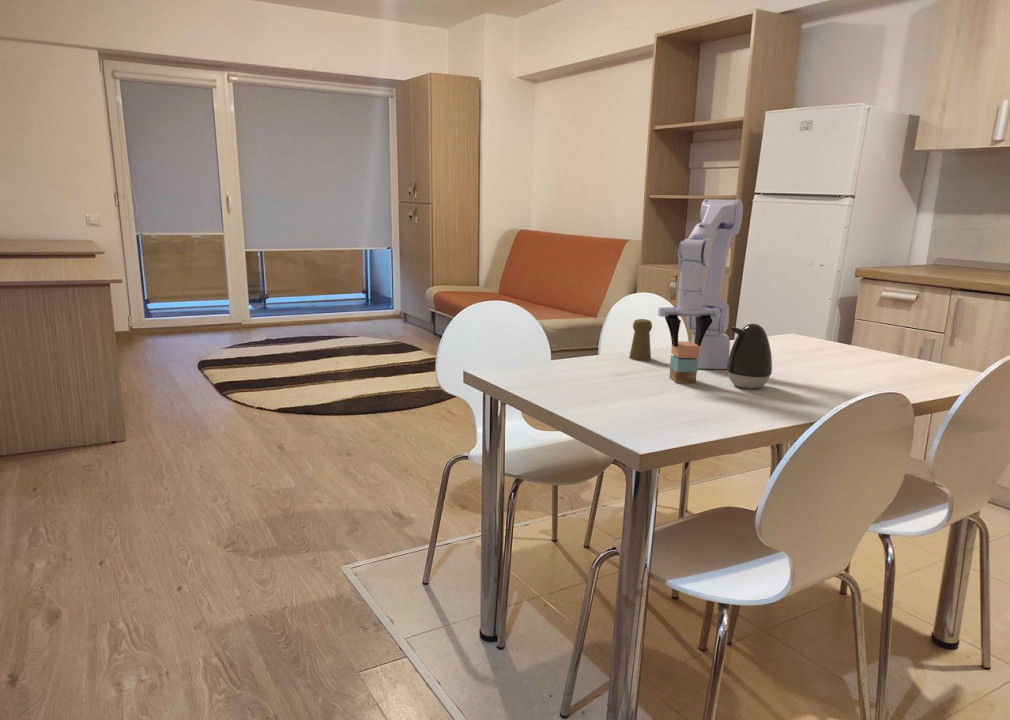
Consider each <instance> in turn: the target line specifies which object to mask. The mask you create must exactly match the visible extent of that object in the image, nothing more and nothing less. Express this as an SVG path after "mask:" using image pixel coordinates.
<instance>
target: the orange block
mask: <svg viewBox="0 0 1010 720" xmlns="http://www.w3.org/2000/svg"><path fill="white" fill-rule="evenodd" d="M670 353H671V354H672V355H675V356H676V357H677V358H698V354H699V346H698V345H697V344H695V343H693V342H692V341H681V340H680V341H679V340H678V345H677V347H674V346H672V345H671V352H670Z"/></svg>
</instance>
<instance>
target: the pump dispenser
mask: <svg viewBox="0 0 1010 720" xmlns="http://www.w3.org/2000/svg"><path fill="white" fill-rule="evenodd" d="M731 331H732V332H733V333H735V334H737V336H736V338H735V339H734V342H733V344H732V346H731V348H730V351H729V359H728V363H727V369H726V371H727V375H728V378H729V380H730V382H731V383H732V384H733V385H734V386H736V387H739V388H741V389H746V388H748V389H749V390H754V389H756V388H757V389H759V388H761V387H764V386H765V385H766V384H767V383H768V380H769V379H770V376H771V375H772V373H773V356H772V351H771V346H770V342H769V337H768V336H767V333H766V331H765V329H764V328H763V326H761V325H760V324H757V323H749V324H746V325H745V326H743V328H738V327H735V326H732V327H731Z"/></svg>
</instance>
